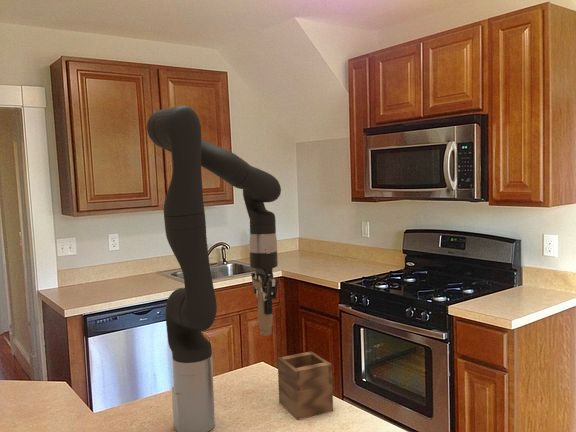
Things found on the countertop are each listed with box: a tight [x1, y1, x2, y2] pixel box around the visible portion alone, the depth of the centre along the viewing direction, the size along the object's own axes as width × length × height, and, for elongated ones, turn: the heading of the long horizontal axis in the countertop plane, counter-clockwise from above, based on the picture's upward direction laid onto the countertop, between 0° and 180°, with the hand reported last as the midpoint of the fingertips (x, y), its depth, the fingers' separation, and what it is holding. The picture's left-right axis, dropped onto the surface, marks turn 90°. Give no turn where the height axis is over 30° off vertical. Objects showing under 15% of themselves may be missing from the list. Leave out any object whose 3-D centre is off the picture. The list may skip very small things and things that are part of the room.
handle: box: [252, 279, 274, 337], centre depth 138 cm, size 5×6×15 cm
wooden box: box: [277, 350, 334, 420], centre depth 130 cm, size 10×11×12 cm
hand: (265, 312), depth 138 cm, fingers closed on handle, 4 cm apart
